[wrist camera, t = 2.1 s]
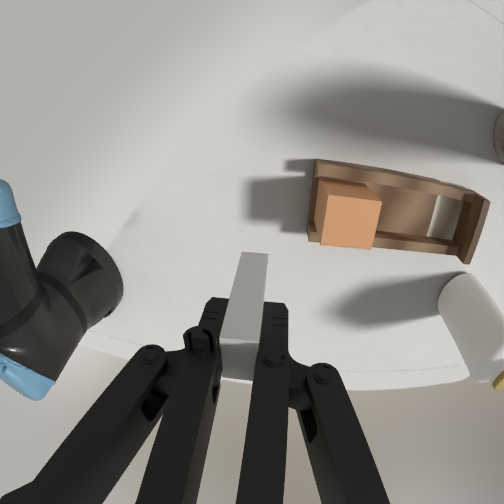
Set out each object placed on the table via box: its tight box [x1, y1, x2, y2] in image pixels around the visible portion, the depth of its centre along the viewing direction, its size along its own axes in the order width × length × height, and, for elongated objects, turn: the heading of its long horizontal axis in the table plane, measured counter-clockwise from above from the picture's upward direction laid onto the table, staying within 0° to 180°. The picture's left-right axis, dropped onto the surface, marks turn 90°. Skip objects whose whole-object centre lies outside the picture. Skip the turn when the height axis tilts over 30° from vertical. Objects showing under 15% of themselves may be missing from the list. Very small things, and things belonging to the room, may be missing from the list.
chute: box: [307, 159, 490, 264], centre depth 27 cm, size 21×8×5 cm, turn 88°
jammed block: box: [314, 177, 382, 250], centre depth 26 cm, size 5×5×6 cm
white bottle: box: [437, 273, 504, 391], centre depth 26 cm, size 8×8×18 cm
